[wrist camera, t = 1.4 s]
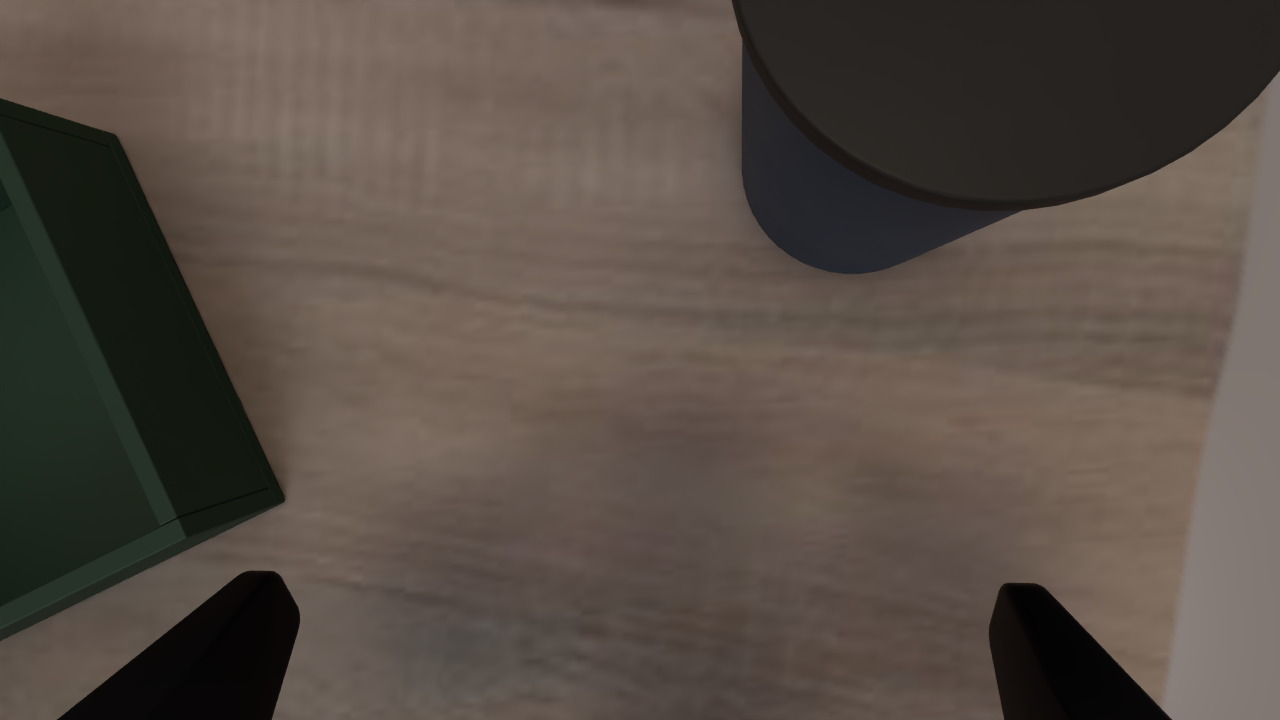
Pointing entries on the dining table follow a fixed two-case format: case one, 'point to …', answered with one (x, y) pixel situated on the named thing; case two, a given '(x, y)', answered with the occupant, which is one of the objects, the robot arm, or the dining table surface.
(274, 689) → the robot arm
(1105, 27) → the cup with straw
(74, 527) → the bin
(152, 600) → the dining table surface
